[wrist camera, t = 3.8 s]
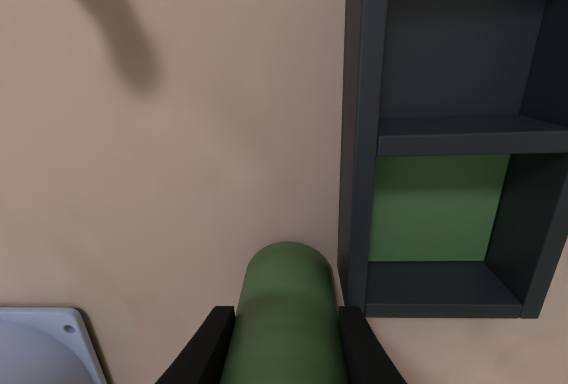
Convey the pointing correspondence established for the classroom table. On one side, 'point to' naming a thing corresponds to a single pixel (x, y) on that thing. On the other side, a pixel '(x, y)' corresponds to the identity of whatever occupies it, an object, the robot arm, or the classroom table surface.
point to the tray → (453, 156)
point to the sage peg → (286, 321)
